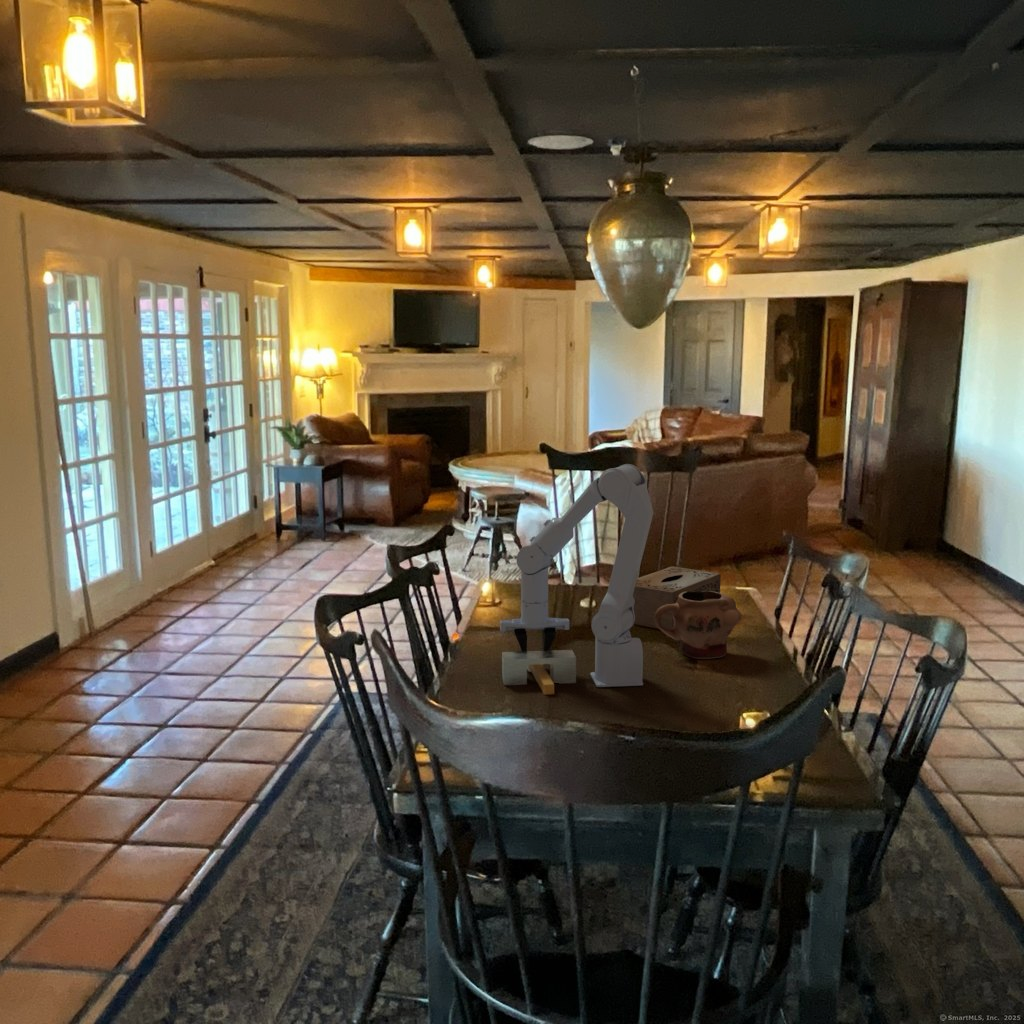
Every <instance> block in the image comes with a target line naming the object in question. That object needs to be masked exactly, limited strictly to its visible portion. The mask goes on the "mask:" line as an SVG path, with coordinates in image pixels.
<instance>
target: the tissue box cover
mask: <svg viewBox="0 0 1024 1024" xmlns="http://www.w3.org/2000/svg"><path fill="white" fill-rule="evenodd" d="M721 575H722V573H719V572H713V571H706V570H699V569H693V568H687V567H679V566H669V567H666V568H663V569H661V570H657V571H655V572H651V573H649V574H646V575H643V576H640V577H637V580H636V584H635V588H634V592H633V598H634V600H635V603H634V614H635V621H634V624H633V625H637V626H642V627H647V628H651V629H657V630H660V629H659V628H658V627H657V626H656V624H655V621H654V615H655V613H656V611H657V610H658V609H659V608H660V607H661V606H663V605H667V604H675V603H677V600H678V596H679V594H681V593H683V592H687V591H713V592H718V593H721V585H722V582H721V578H722V576H721ZM660 624H661V625H662V627H663V628H665V629H666V630H670V629H671V628H672V627H673V626H674V620H673V615H672V614H671V613H666V614H664V615H663V616H662V617H661V619H660Z"/></svg>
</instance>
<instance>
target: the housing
mask: <svg viewBox="0 0 1024 1024" xmlns="http://www.w3.org/2000/svg"><path fill="white" fill-rule="evenodd" d="M531 664H544V665H549V676H550V678H551V680H552V681H553V683H559V684H576V683H577V656H576V655H575V653H574V651H573V649H561V650H559V649H554V650H549V651H542V650H529V651H528V650H527V651H502V652H501V673H502V674H501V678H502V681H503V685H504V686H523V685H528V670H527V665H531Z"/></svg>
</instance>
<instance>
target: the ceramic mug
mask: <svg viewBox="0 0 1024 1024" xmlns="http://www.w3.org/2000/svg"><path fill="white" fill-rule="evenodd" d="M666 613H671V614H672V615H673V620H674V626H673V627H672V628H671V629H670V630H666V629H665V628H663V627H662V625H661V624H660V619H661V617H662V616H663V615H664V614H666ZM742 618H743V617H742V612H741V611H740V609H738V608H737V604H736V601H735V599H734V598H733V597H732V596H730V595H729V594H726V593H722V592H720V593H718V592H713V591H687V592H683V593H681V594H679V596H678V600H677V603H675V604H667V605H663V606H661V607H660V608H659V609H658V610H657V611H656V613H655V615H654V621H655V624H656V626H657V627H658V628H659V629H658V630H660V631H661V632H662V633H663V634H665V635H666V636H667V637H669V638H672V639H673V640H674V641H676V642H678V641H679V643H680V649H681V652H682V653H683V655H685V656H686V657H689V658H691V659H692V658H693V659H698V660H699V659H716V658H723V657H725V656H726V655H727V653H728V652H727V651H728V650H727V648H728V647H727V643H728V642H727V640H728V637H729V636H730V634H731V633H732V631H733V630H734V629H735V628H736V627H737V625H738V624H739V623H740V621H741V620H742Z"/></svg>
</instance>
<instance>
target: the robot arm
mask: <svg viewBox="0 0 1024 1024" xmlns="http://www.w3.org/2000/svg"><path fill="white" fill-rule="evenodd" d="M649 493H650V492H649V490H648V479H647V478H646V477H645V475H644V474H643V472H642V471H641V470H640V468H638V467H637V466H635V465H634V464H630V463H625V464H621V465H619V466H618V467H613V468H612V467H610V468H608V469H605V470H604V471H603V472H602V473H601V474H600V476H598V477H597V478H595V479H594V480H593V481H591V483H590V484H589V485H588V486H587V487H586V488H585V489H584V490H583V492H582V493H581V494H580V495H579V497H578V498H576V500H575V502H574V503H573V504H572V505H571V506H570V507H569V508H568V510H567V511H565V513H564V514H563V515H562V517H552V519H547V520H545V522H544V523H543V526H544V527H543V528H542V529H541V530H540V531H539V533H538V534H536V536H532V537H531V538H530V539H529V542H530V544H529V545H524V546H522V547H520V548H519V551H518V552H517V555H516V560H515V561H516V564H517V567H518V569H519V570H520V608H521V609H520V613H521V614H520V618H519V617H518V618H513V619H505V620H501V619H500V620H499V630H500V633H501V632H505V633H506V632H507V631H510V632H511V631H513V632H514V636H515V638H516V640H517V642H518V644H519V647H520V650H521V651H528V635H527V631H536V630H538V631H539V630H540V631H541V641H542V646H541V647H542V648H541V651H550V649H551V647H552V644H553V642H554V640H555V639H556V637H557V631H556V630H565V631H566V630H567V631H569V630H570V619H569V618H560V617H559V618H558V617H549V567H550V566H551V565H552V564H553V561H554V558H555V557H556V556H557V555H558V554H559V553H560V552H561V551H562V550H564V548H565V547H566V546H567V544H568V543H569V542H571V540H572V539H574V534H575V532H574V530H575V527H576V526H577V525H578V524H579V523H581V521H582V520H583V519H585V517H587V516H588V514H589V513H591V512H592V510H594V509H595V508H596V507H597V506H598V505H599V503H603V502H605V501H609V503H611V504H612V505H614V506H615V507H616V508H617V509H618V510H619V512H620V513H621V514H622V516H623V518H624V522H623V526H622V530H621V534H620V539H619V542H618V543H619V544H618V548H617V550H616V555H615V559H614V562H613V567H612V572H611V574H610V580H609V584H608V587H607V592H606V594H605V596H604V597H603V599H602V601H601V602H600V606H599V609H598V612H597V613H596V614H595V615H594V616H593V618H591V619H592V620H591V623H590V625H591V631H592V634H593V635H594V637H595V640H594V641H595V645H594V646H595V649H594V650H595V653H594V654H595V655H594V656H595V657H594V659H595V661H594V666H595V667H594V671H592V672H590V677H591V679H592V681H593V682H594V684H595V687H597V688H611V687H614V688H615V687H638V686H639V687H641V686H644V681H643V679H644V678H643V673H644V672H643V669H644V668H643V666H644V665H643V662H644V652H643V649H644V648H643V644H642V641H641V638H639V637H632V634H631V632H630V629H631V628H632V627H633V626H634V625H635V624H634V621H635V614H634V603H635V600H634V598H633V592H634V588H635V584H636V580H637V578H638V576H639V572H640V569H641V568H640V567H641V564H642V561H643V560H642V559H643V555H644V551H645V548H646V545H647V540H648V536H649V532H650V528H651V523H652V519H653V518H654V509H653V505H652V501H651V497H650V494H649Z"/></svg>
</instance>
